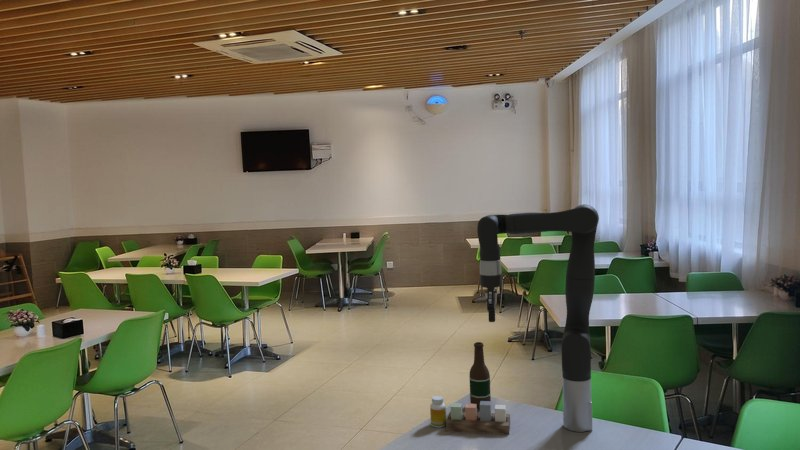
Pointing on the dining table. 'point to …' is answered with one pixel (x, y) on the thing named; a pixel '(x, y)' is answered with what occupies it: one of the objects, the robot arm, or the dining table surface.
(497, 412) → the key ivory
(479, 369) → the beer bottle
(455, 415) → the key sage
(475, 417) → the salmon pink block
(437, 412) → the supplement bottle
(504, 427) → the brown wooden slotted tray
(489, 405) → the key slate
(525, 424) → the dining table surface
